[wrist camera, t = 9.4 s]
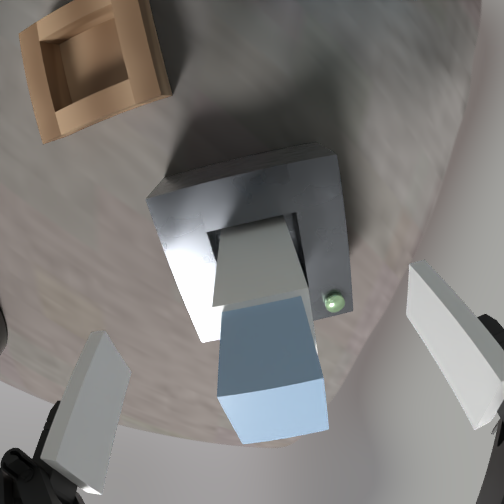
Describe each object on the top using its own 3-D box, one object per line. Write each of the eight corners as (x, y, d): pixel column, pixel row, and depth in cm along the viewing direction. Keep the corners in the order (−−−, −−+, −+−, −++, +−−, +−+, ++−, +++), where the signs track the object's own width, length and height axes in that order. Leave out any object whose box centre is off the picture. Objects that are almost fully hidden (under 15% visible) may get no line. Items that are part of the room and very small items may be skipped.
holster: (65, 136, 18) (43, 144, 15) (42, 37, 15) (18, 33, 12) (172, 95, 18) (161, 95, 15) (146, -12, 14) (132, -27, 11)
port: (207, 302, 24) (201, 346, 20) (163, 177, 20) (143, 201, 16) (335, 275, 24) (354, 314, 19) (316, 142, 19) (339, 155, 15)
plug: (236, 268, 21) (237, 448, 10) (222, 218, 20) (203, 392, 8) (289, 256, 21) (337, 431, 10) (279, 205, 20) (333, 368, 8)
